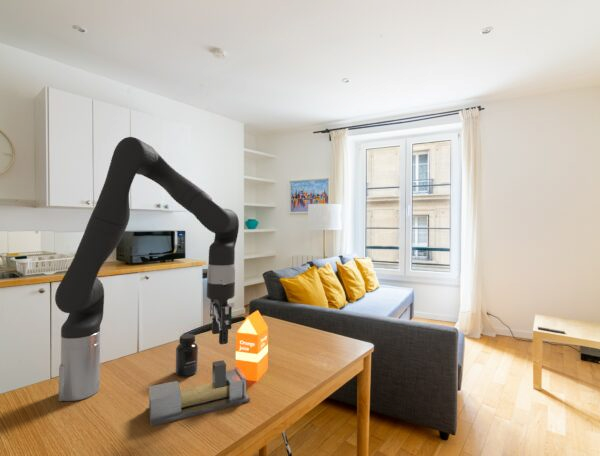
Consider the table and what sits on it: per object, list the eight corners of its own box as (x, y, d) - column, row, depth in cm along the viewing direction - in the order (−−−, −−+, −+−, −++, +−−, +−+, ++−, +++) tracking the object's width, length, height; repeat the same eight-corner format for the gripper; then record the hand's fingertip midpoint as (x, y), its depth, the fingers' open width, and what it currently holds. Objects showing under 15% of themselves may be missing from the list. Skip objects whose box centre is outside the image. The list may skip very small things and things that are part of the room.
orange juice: (267, 369, 109) (268, 310, 109) (257, 381, 100) (258, 317, 100) (246, 366, 111) (247, 308, 111) (234, 378, 102) (235, 315, 102)
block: (177, 408, 83) (178, 373, 83) (176, 401, 86) (176, 368, 86) (238, 394, 90) (238, 362, 90) (234, 388, 93) (234, 357, 93)
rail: (150, 426, 77) (151, 399, 77) (148, 407, 85) (149, 383, 85) (249, 401, 89) (250, 378, 89) (240, 386, 97) (240, 365, 97)
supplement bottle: (190, 378, 101) (190, 340, 101) (171, 376, 103) (171, 339, 103) (201, 369, 108) (201, 333, 108) (183, 366, 110) (183, 332, 109)
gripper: (202, 276, 94) (200, 332, 94) (213, 285, 81) (211, 349, 81) (227, 275, 97) (226, 329, 97) (242, 284, 84) (240, 345, 85)
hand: (219, 338), depth 89 cm, fingers open, 8 cm apart
